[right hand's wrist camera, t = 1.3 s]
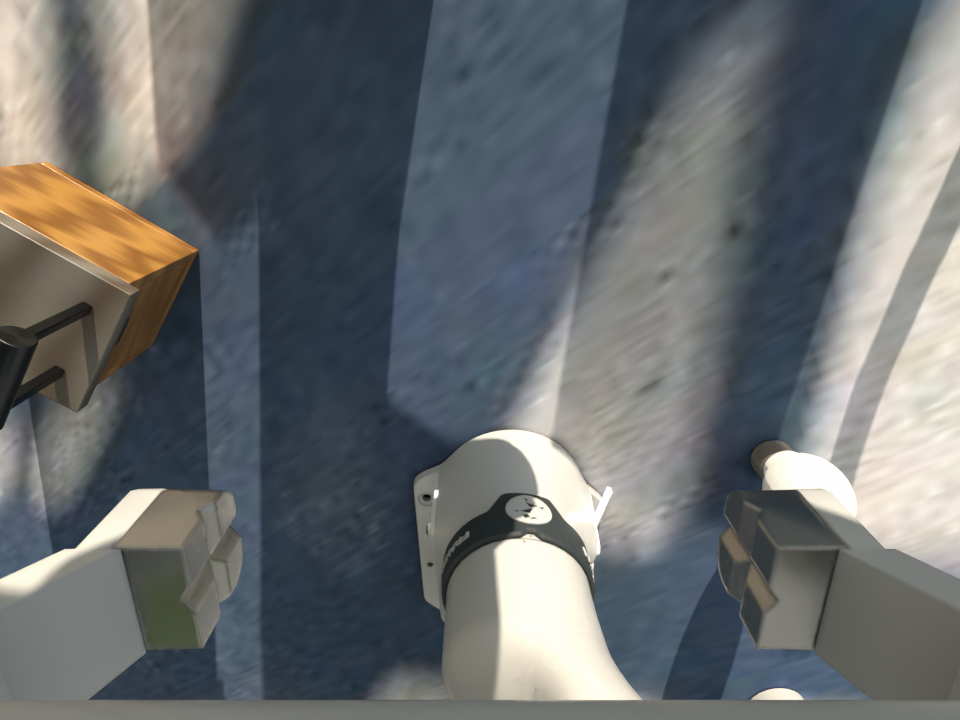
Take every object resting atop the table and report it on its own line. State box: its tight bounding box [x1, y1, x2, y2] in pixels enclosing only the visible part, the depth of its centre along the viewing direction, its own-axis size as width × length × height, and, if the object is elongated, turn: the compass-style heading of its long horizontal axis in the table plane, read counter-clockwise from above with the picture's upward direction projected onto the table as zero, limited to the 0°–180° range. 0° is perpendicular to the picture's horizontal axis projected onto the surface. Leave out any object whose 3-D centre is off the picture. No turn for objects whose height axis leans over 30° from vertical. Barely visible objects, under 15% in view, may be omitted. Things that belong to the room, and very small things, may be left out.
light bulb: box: [751, 441, 857, 518], centre depth 55 cm, size 7×7×11 cm
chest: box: [0, 162, 198, 384], centre depth 48 cm, size 13×10×11 cm
